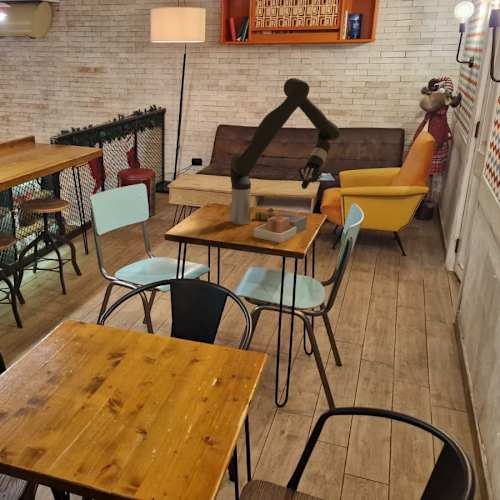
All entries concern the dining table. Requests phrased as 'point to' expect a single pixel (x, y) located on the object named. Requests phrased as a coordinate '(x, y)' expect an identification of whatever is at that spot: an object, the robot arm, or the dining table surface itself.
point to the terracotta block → (278, 224)
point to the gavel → (264, 214)
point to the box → (274, 234)
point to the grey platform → (296, 221)
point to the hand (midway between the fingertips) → (303, 187)
